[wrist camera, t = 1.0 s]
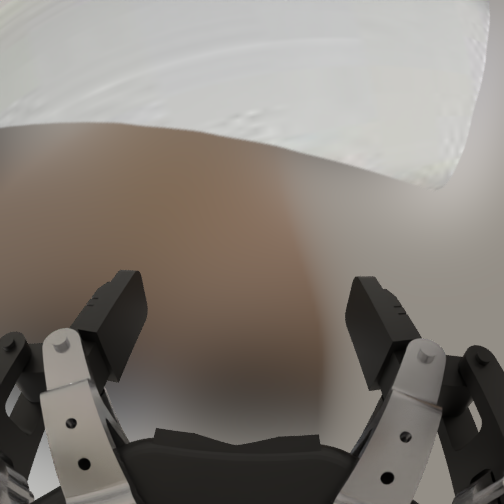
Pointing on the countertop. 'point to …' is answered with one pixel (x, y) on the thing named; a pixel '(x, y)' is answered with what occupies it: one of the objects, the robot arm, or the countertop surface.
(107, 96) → the countertop surface
